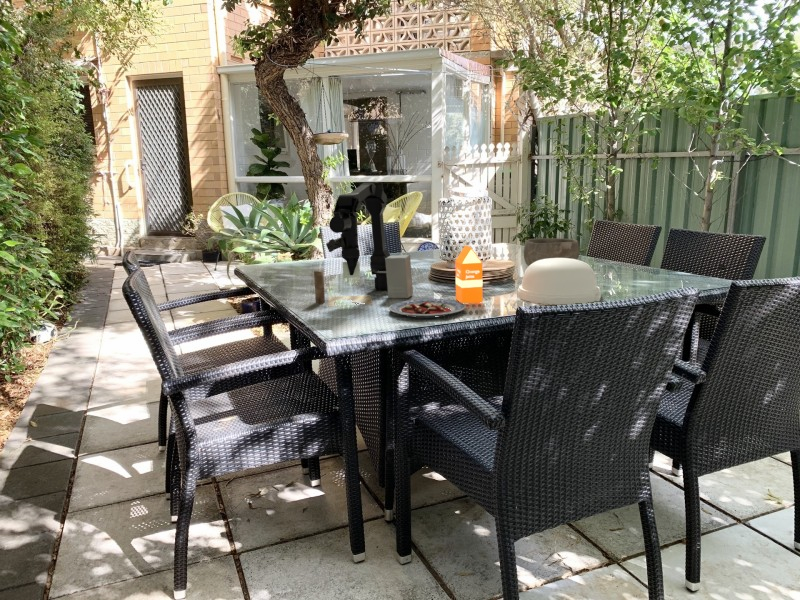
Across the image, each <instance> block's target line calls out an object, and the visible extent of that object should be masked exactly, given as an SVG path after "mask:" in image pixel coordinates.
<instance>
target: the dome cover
mask: <svg viewBox="0 0 800 600" xmlns="http://www.w3.org/2000/svg"><path fill="white" fill-rule="evenodd" d="M601 291H602V290H601V289H600V286H598V284H597V277H596V274H595V271H594V269H593V268H592V266H591V265H589V264H588V263H586V262H584V261H582V260H580V259H578V260H576V259H570V258H548V259H542V260H538V261H536V262H534V263H532V264H531V265H529V266H527V267H526V269H525V271H524V273H523V276H522V281H521V284H519V286H518V289H517V297H518V298H519V299H520V300H522V301H527V302H531V303H535V304H536V303H537V304H543V305H544V304H545V305H573V304H572V303H582V304H589V303H593V302H600V301H601V298H602V297H601V296H602V294H601V293H602V292H601ZM588 302H589V303H588Z"/></svg>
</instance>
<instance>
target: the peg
mask: <svg viewBox="0 0 800 600" xmlns="http://www.w3.org/2000/svg"><path fill="white" fill-rule="evenodd" d="M324 278H325V277H324V270H320V269H319V270H318V269H317V270H313V279H314V281H313V282H314V297H315V304H319V305H321V304H325V303H326V300H325V299H326V297H325V281H324V280H325V279H324Z"/></svg>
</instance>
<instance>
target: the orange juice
mask: <svg viewBox="0 0 800 600" xmlns="http://www.w3.org/2000/svg"><path fill="white" fill-rule="evenodd" d="M483 281H484V280H483V262H482V261H481V259H480V258H479V256H478V255H477V253H476V252H475V251H474V249H473V248H472V247H471V246H468V245H466V244H465V245H464V246H463V249H461V251H460V253H459V255H458V256H457V258H456V259H455V300H456V299H457V300H458V301H459V302H461V303H477V304H481V303H480V302H482V303H483ZM457 300H456V301H457Z"/></svg>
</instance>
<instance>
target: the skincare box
mask: <svg viewBox="0 0 800 600" xmlns="http://www.w3.org/2000/svg"><path fill="white" fill-rule="evenodd" d="M385 262H386V274H387V287H388V290H387V297H388V299H390V298H391V299H393V298H394V299H408V298H410V297H412V296H413V295H414V290H413V278H412V263H411V255H410V254H408V255H407V254H406V255H404V254H403V255H390V256H389V257H387V258H385Z"/></svg>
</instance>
